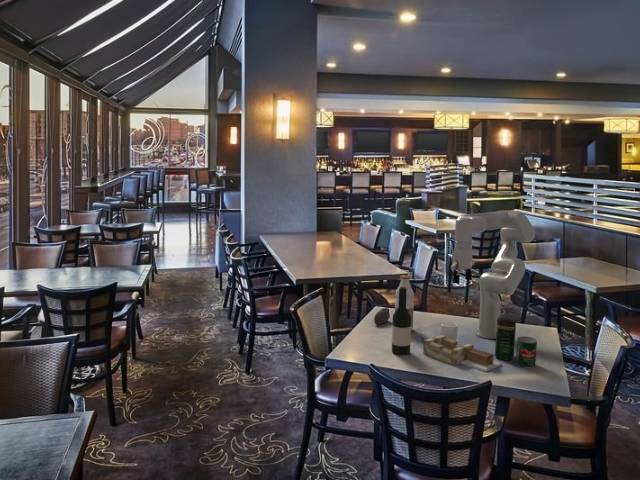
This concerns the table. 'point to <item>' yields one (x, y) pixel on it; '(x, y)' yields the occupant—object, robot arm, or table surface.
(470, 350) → the wooden block
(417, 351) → the table surface
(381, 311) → the perforated stone tool
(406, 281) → the fruit juice
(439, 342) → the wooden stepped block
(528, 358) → the canned tomato
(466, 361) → the ceramic coaster
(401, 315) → the wine bottle
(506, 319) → the coffee jar
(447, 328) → the white cup
